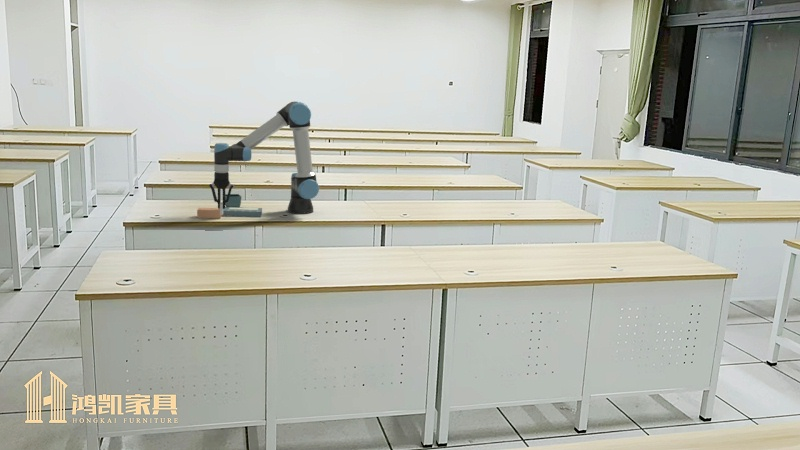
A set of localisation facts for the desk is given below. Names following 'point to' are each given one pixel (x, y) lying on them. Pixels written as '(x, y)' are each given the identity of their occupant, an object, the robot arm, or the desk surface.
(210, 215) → the pink rectangular block
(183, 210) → the desk surface
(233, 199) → the flower pot
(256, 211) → the blue-grey flat slab
